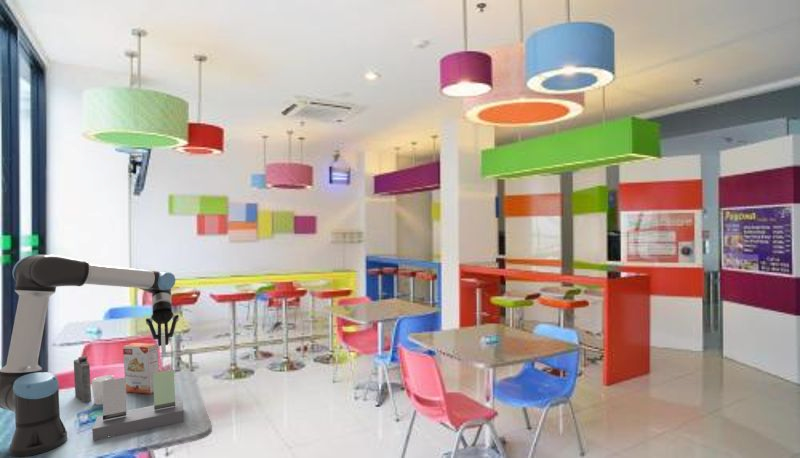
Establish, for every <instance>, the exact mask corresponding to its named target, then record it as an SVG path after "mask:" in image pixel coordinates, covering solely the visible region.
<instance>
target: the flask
mask: <svg viewBox="0 0 800 458" xmlns="http://www.w3.org/2000/svg"><path fill="white" fill-rule="evenodd" d="M90 368H91V367H90V362H89V361H88V356H87V355H82V356H79V357H78V359H74V360H73V375H74V376H73V377H74V392H75V393H74V394H75V397H76V398H79V399H80V400H82V403H85V404H86V403H87V404H88V403H91V401H92V385H91V369H90Z"/></svg>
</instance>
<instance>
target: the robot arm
mask: <svg viewBox="0 0 800 458" xmlns="http://www.w3.org/2000/svg"><path fill="white" fill-rule="evenodd" d="M12 278H13V280H14V281H15V286H14V292H15V293H16V294H17V295H18V300H17V307H16V312H15V316H14V321H13V322H14V323H13V327H12V331H11V332H12V333H11V339H10V344H9V348H8V355H7V360H6V364H5V366H3V367H2V368H0V408H1V409H2V410H7V411H12V412H14V420H15V421H14V424H15V429H14V433H13V435H12V438H11V442H10V445H9V455H10V456H11V457H15V456H24V457H29V455H31V456H34V455H39V454H42V453H45V452H48V451H51V450H53V449H55V448H58V447H59V446H61V445H63V444H64V443H65V442H66V441H67V440H68V431H67V429H66V427H65V425H64V423H63V421H62V419H61V417H60V416H61V415H60V413H61V412H60V393H59V391H60V390H59V387H60V383H59V380H58V377H57V375H56V374H55V373H52V372H47V371H44V372H42V371H43V370H42V369H43V368H42V366H40V365H39V357H40V351H41V345H42V339H43V334H44V329H45V323H46V319H47V312H48V305H49V301H50V300H49V299H50V297H51V296H52V295H54V294H55V293H56V289H57V288H58V287H82V286H84V285H95V286H110V287H120V288H121V287H122V288H132V289H133V288H134V289H135V288H136V289H140V290H142V291H143V292H144V291H145V292H147V293H149V294H151V295H152V296H151V297H152V300H151V301H152V304H151V305H152V314H151V317H149V318H145V323H146V325H147V326H148V327H149V330H150V333H151V335H152V339H153V340H157V344H158V346H159V347H161V354H166V352H167V351H166V349H167V348H166V346H168V345H169V338H173V337H174V333H175V330H176V326H177V322H178V321H179V320H180V319H179V318H180V317H179V314H176V315H175V314H174V313H173V309H172V308H173V306H172V305H173V304H172V288H173V287H174V286H175V284H176V277H175V275H174V274H173V273H172V272H168V271H156V270H148V269H140V268H137V267H136V268H133V267H132V268H131V267H130V268H129V267H121V266H115V265H113V266H112V265H111V266H110V265H106V264H105V265H104V264H103V265H102V264H95V263H89V262H88V261H87V260H86V259H85V260H84V259H78V258H77V259H76V258H73V257H67V256H64V255H58V254H37V253H36V254H32V255H27V256H24V257H22V258H20V259H19V260H18V261H17V262H16V263H15V264H14V266H13V269H12ZM171 320H172V322H171V326H170V331H169V325H168V324H169V322H170V321H171ZM153 322H154V323H156V325H157V333H156V329H155V328H154V324H153ZM163 324H164V335H163V336H162V325H163Z"/></svg>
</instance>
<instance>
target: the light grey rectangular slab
mask: <svg viewBox="0 0 800 458" xmlns="http://www.w3.org/2000/svg"><path fill="white" fill-rule="evenodd" d="M126 411H127V392H126V377H125V376H124V377H119V378H114V379H113V380H107V381H103V404H102V415H103V420H107V419H112V418H117V417H122V416H126Z"/></svg>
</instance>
